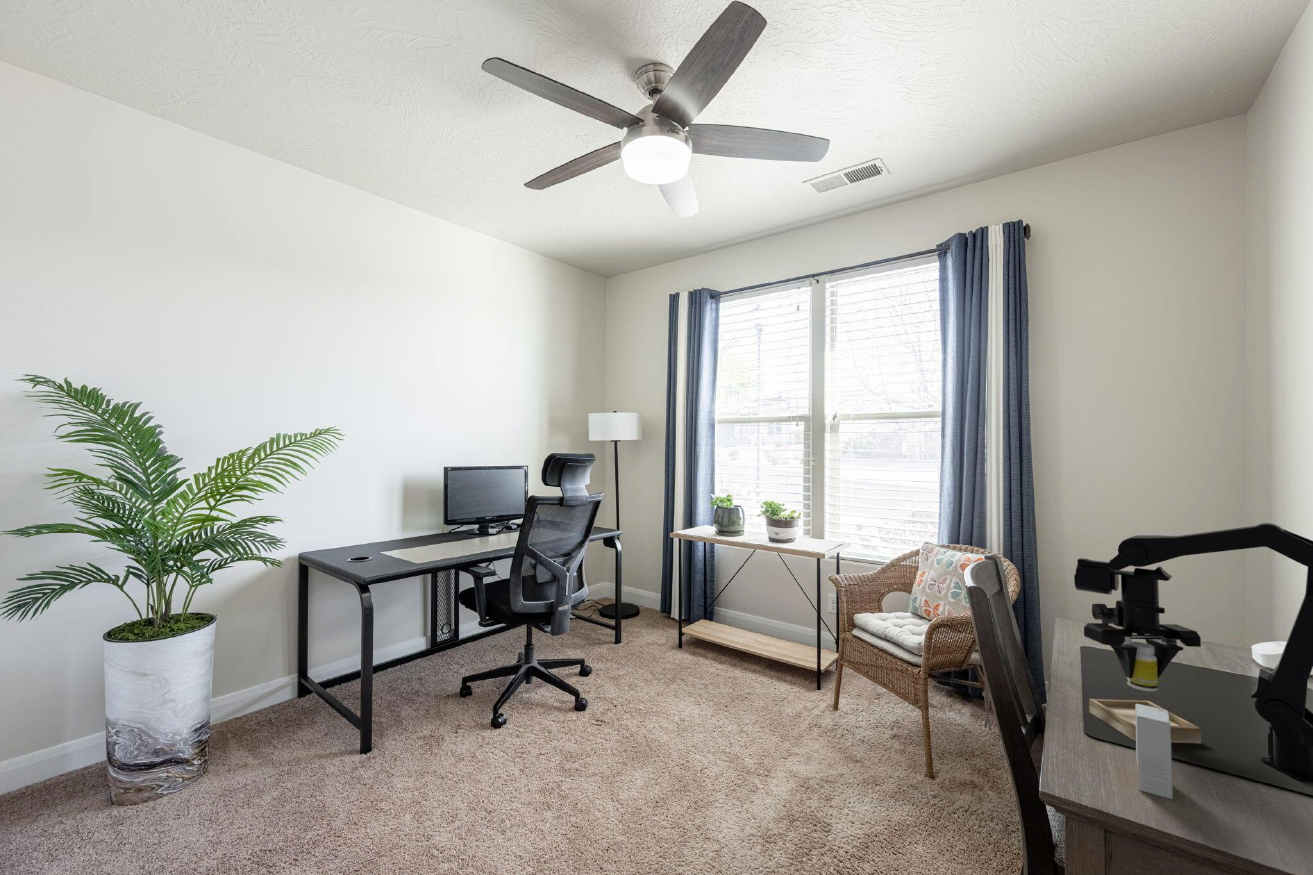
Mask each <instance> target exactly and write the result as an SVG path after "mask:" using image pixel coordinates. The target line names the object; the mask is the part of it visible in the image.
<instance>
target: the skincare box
mask: <svg viewBox="0 0 1313 875" xmlns="http://www.w3.org/2000/svg"><path fill="white" fill-rule="evenodd" d="M1163 709H1164V708H1163ZM1163 709H1159V708H1154V707H1150V706H1146V705H1141V704H1135V717H1136V741H1135V753H1136V757H1135V758H1136V773H1137V788H1138V790H1139V791H1140V790H1141V792H1145V793H1148V794H1151V795H1155V796H1157V797H1162V798H1165V797H1166V798H1165V799H1168V798H1169V800H1173V796H1174V795H1173V794H1174V793H1173V768H1172V767H1173V766H1172V765H1173V764H1172V742H1171V730H1170V720H1169V714H1168V711H1169V710H1167V709H1165V710H1163Z"/></svg>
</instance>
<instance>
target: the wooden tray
mask: <svg viewBox="0 0 1313 875" xmlns="http://www.w3.org/2000/svg"><path fill="white" fill-rule="evenodd" d="M1088 703H1089V704H1088V708H1089V709H1088V712H1089V713H1090V714H1091V715H1093V716H1095V717H1096V718H1098V719H1099V720H1101V721H1103V722H1104V723H1106V725H1109V726H1110V727H1113V729H1115V730H1117V731H1118V732H1120V733H1121V734H1123V735H1124V736H1126V737H1127V738H1129V739H1131V740H1132V741H1134V742H1136V717H1135V704H1141V705H1146V706H1150V707H1154V708H1159V709H1163V710H1166V709H1165V708H1164V707H1161V706H1159V705H1158V704H1156V703H1154V702H1152V701H1150V700H1138V699H1137V700H1135V699H1108V698H1107V699H1106V698H1089V699H1088ZM1167 711H1168V714H1169V720H1170V730H1171V743H1180V744H1183V743H1184V744H1202V728H1200V727H1199V726H1197V725H1195V724H1193V723H1191V722H1189V721H1187V720H1185V719H1184V718H1181V717H1180V716H1178V715H1176V714H1174V713H1173V712H1170V711H1169V710H1167Z"/></svg>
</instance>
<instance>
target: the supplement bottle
mask: <svg viewBox="0 0 1313 875" xmlns="http://www.w3.org/2000/svg"><path fill="white" fill-rule="evenodd" d="M1131 645H1132V646H1135V647H1137V654H1136V661H1135V668H1134V673H1133V677H1132V678H1128V677H1126V684H1127V685H1128V686H1129V687H1131V688H1133V689H1136V690H1140V691H1143V692H1144V691H1146V692H1156V691H1158V690H1159V678H1158V671H1157V658H1156V657H1155V656H1154V653H1155V651H1154V646H1153V645H1150V644H1147V642H1141V641H1131Z"/></svg>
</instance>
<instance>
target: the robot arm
mask: <svg viewBox="0 0 1313 875" xmlns="http://www.w3.org/2000/svg"><path fill="white" fill-rule="evenodd" d="M1256 548H1268V549H1270V550H1271V551H1275V552H1277V553H1279V554H1281V555H1282V556H1285V557H1286V558H1288V559H1291V560H1292V561H1294V562H1296V563H1299V564H1301V565H1302V566H1305V567H1307V570H1306V571H1307V572H1306V582H1305V583H1306V584H1305V593H1304V596H1303V599H1302V601H1301V604H1300V607H1299V609H1298V612H1297V614H1296V617H1295V620H1294V622H1293V625H1292V627H1291V630H1290V632H1289V636H1288V637H1287V641H1286V643H1285V646H1284V648H1283V651H1282V654H1281V655H1280V659H1279V661H1278V664H1277V665H1276V666H1275V667H1274V669H1273V670H1272V671H1271V672H1269V671H1267V670H1265V669H1263V668H1259V671H1258V672H1259V673H1258V677H1257V682H1256V683H1255V684H1254V685H1252V689H1251V694H1250V698H1252V699H1255V700H1254V708H1255V711H1256V712H1257V713H1258V715H1259V716H1260V717H1261V718H1263V719H1264V720H1265V721H1266V722H1268V723H1269V724H1270V725H1269V726H1268V727H1269V732H1268V733H1267V748H1268V749H1267V750H1268V752H1267V753H1268V754H1267V755H1268V756H1261V757H1260V761H1262V762H1264V763H1266V764H1268V765H1270V766H1271V767H1273V768H1275V769H1277V770H1279V771H1281V772H1283V773H1284V774H1287V775H1288V776H1290V777H1292V778H1294V779H1296V780H1299V781H1306V782H1307V781H1309V782H1310V781H1311V782H1313V712H1312V711H1311V710H1310V709H1309V708H1308V707H1307V693H1308V692H1307V691H1308V682H1309V681H1308V680H1309V678H1310V675H1311V673H1312V670H1313V540H1311V539H1309V538H1307V537H1305V536H1301V535H1299V534H1296V533H1294V532H1291V531H1289V530H1287V529H1284V528H1282V527H1281V526H1279V525H1277V524H1276V523H1271V522H1263V523H1258V524H1255V525H1250V526H1244V527H1243V526H1241V527H1235V528H1227V529H1220V530H1212V531H1205V532H1204V531H1203V532H1197V533H1190V534H1182V535H1160V534H1159V535H1158V534H1157V535H1155V534H1154V535H1149V534H1148V535H1147V534H1145V535H1144V534H1143V535H1142V534H1141V535H1133V536H1129V537H1127V538H1126V539H1124V540H1122V541H1121V542H1120V543H1119V545H1118V547H1117V555H1115V556H1114V557H1113V558H1111V559H1110V560H1109V561H1103V560H1102V561H1101V560H1093V559H1089V558H1084V557H1080V558H1077V565H1076V568H1075V574H1074V576H1073V577H1074V578H1073V580H1074V581H1073V582H1074V587H1075V589H1076V590H1077V591H1083V592H1089V593H1094V594H1103V595H1112V592H1113V591H1115V592H1118V590H1119V587H1120V591H1121V594H1120V595H1121V597H1120V598H1121V600H1116V602H1115V607H1108V606H1107V605H1106V604H1105V603H1092V605H1091V615H1092V618H1093V619H1094V620H1096V621H1097V620H1098V621H1099V620H1101V622H1102V623H1100V622H1087V623H1086V624H1085V625H1084V627H1083V636H1084V637H1085V638H1087V639H1089V640H1092V641H1094V642H1097V643H1098V644H1101V645H1105V646H1110V648H1111V649H1112V650H1113V652H1114V653H1115V655H1116V657H1117V660H1118V661H1119V664H1120V666H1121V668H1122V670H1123V671H1122V672H1123V673H1124V675H1125V677H1126V678H1127V677H1128V678H1132V677H1133V673H1134V668H1135V661H1136V654H1137V647H1135V646H1132V645H1131V642H1132V640H1144V641H1145V643H1147V644H1150V645H1153V646H1154V651H1155V653H1154V656H1155V657H1156V658H1157V671H1158V679H1159V678H1160V677H1161V675H1162V674H1163V673H1164V671H1165V670H1166V668H1167V667H1168V665H1169V664H1170V663H1171V662H1172V660H1173V659H1174V657H1176V656H1177V654H1178V653H1179V652H1181V651H1184V647H1189V648H1190V647H1193V648H1194V647H1197V648H1200V647H1201V646H1202V637H1201V636H1200V634H1199V633H1198V631H1197V630H1194V629H1191V628H1188V627H1185V626H1182V625H1179V624H1174V623H1173V624H1172V623H1171V624H1170V623H1168V624H1165V623H1160V614H1166V607H1161V606H1160V598H1159V597H1160V596H1159V595H1160V594H1159V593H1160V591H1159V590H1160V589H1159V581H1163V582H1169V581H1170V580H1171V579H1172V575H1171V574H1169V573H1168V572H1166V570H1164V568H1163V567H1162V566H1158V567H1156V569H1155V568H1154V569H1152V568H1151V569H1150V568H1143V567H1147V566H1151V565H1155V564H1158V563H1162V562H1165V561H1169V560H1173V559H1176V558H1180V557H1185V556H1193V555H1202V554H1210V553H1220V552H1229V551H1236V550H1237V551H1239V550H1248V549H1256ZM1128 567H1135V568H1134V570H1133V571H1131V570H1124V569H1126V568H1128ZM1119 578H1120V579H1119ZM1119 585H1120V586H1119ZM1115 626H1116V627H1115ZM1118 627H1119V628H1118ZM1120 627H1121V628H1120ZM1177 640H1178V641H1180V642H1181V644H1182V645H1184V647H1183V646H1180V645H1178V641H1177Z"/></svg>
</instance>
